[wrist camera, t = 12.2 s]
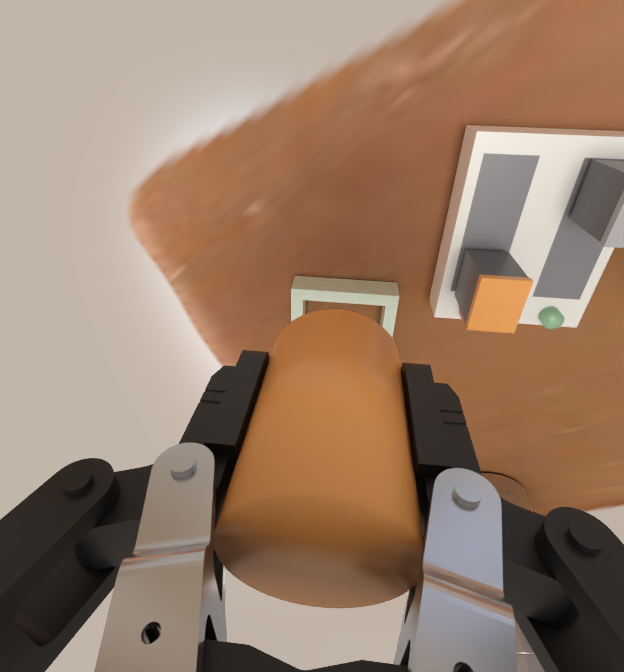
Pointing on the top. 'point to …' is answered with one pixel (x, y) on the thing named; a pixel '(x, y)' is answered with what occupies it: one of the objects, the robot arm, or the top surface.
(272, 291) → the top surface
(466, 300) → the tagged breaker
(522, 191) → the box
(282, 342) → the cap
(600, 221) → the block
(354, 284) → the pale green square frame
